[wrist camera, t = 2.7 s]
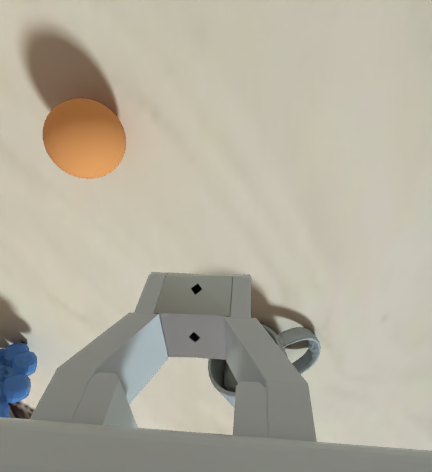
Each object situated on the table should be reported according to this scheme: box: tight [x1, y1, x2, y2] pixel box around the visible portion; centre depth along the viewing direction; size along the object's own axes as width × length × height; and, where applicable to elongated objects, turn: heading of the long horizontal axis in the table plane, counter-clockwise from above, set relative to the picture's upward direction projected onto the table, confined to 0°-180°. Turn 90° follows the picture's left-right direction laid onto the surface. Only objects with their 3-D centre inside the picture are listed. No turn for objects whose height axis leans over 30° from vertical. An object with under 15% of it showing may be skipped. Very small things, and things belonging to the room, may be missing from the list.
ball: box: [43, 98, 126, 179], centre depth 21 cm, size 5×5×5 cm
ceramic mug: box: [208, 324, 320, 407], centre depth 33 cm, size 11×8×8 cm
